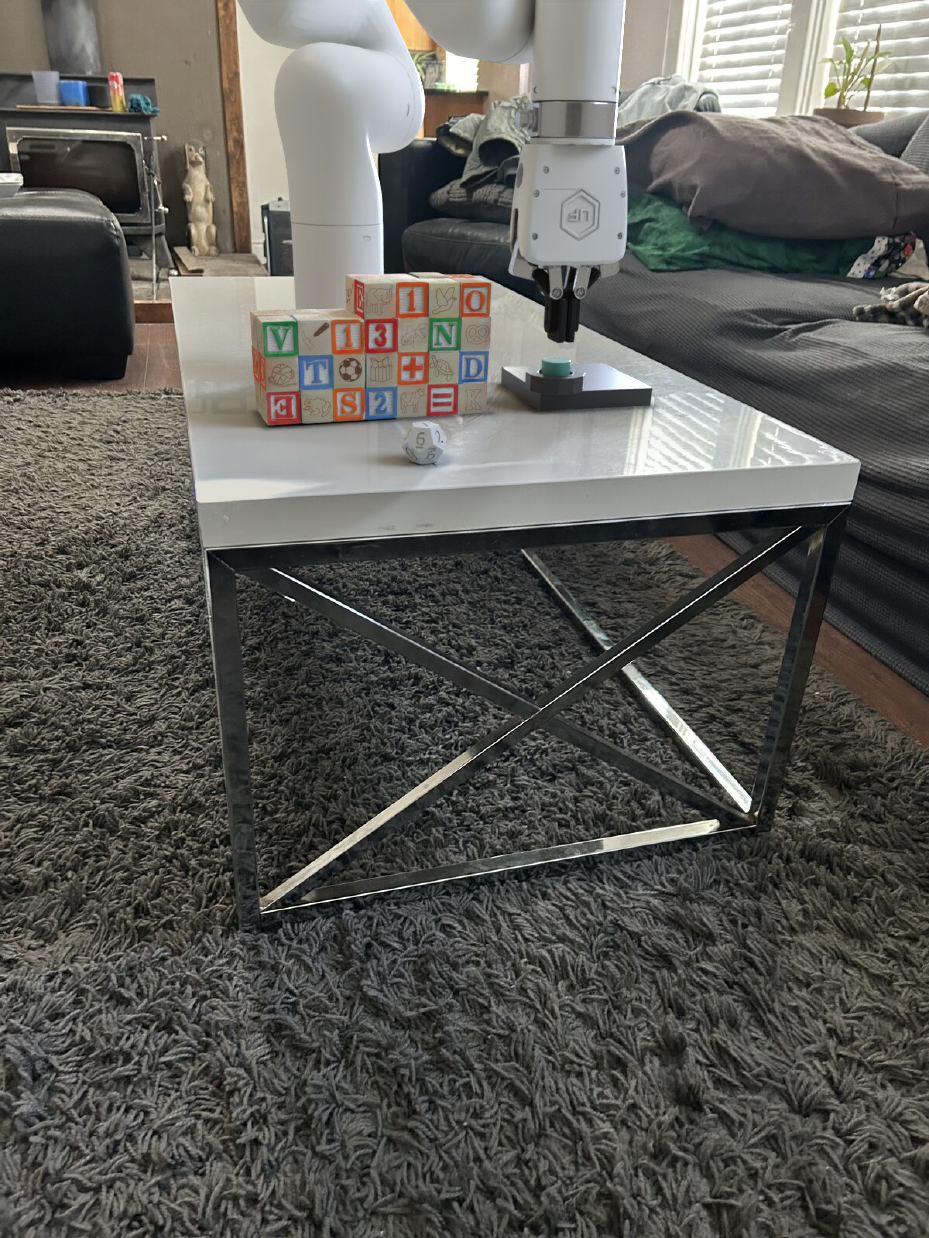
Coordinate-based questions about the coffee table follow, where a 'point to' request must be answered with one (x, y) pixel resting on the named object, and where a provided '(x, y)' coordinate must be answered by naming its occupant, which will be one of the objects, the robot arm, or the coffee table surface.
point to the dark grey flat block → (576, 388)
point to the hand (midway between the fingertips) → (560, 340)
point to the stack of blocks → (377, 351)
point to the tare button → (555, 366)
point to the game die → (424, 442)
